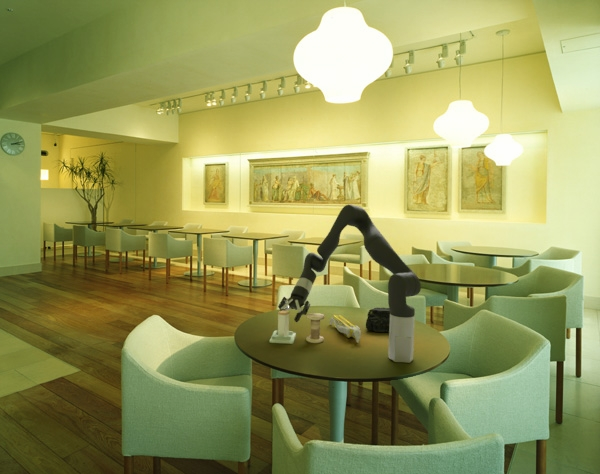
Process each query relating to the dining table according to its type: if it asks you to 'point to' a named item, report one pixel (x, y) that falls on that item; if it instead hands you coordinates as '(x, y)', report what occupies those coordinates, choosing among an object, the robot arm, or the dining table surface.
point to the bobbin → (315, 328)
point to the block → (283, 323)
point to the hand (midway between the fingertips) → (287, 319)
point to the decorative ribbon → (346, 328)
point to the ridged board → (283, 338)
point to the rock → (378, 320)
